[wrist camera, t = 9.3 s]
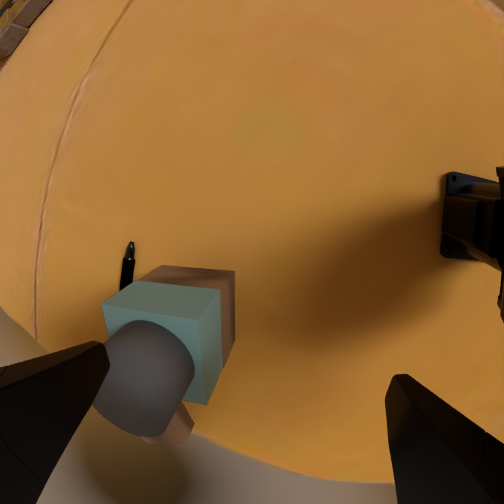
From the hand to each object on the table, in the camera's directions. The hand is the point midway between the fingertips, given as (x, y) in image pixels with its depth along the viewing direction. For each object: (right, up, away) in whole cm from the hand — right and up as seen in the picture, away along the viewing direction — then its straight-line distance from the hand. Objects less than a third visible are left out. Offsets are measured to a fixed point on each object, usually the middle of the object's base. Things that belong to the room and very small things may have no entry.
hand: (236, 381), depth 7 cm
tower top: (-5, -1, +11) cm, 12 cm away
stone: (-5, -2, +7) cm, 9 cm away
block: (-9, -14, +19) cm, 25 cm away
